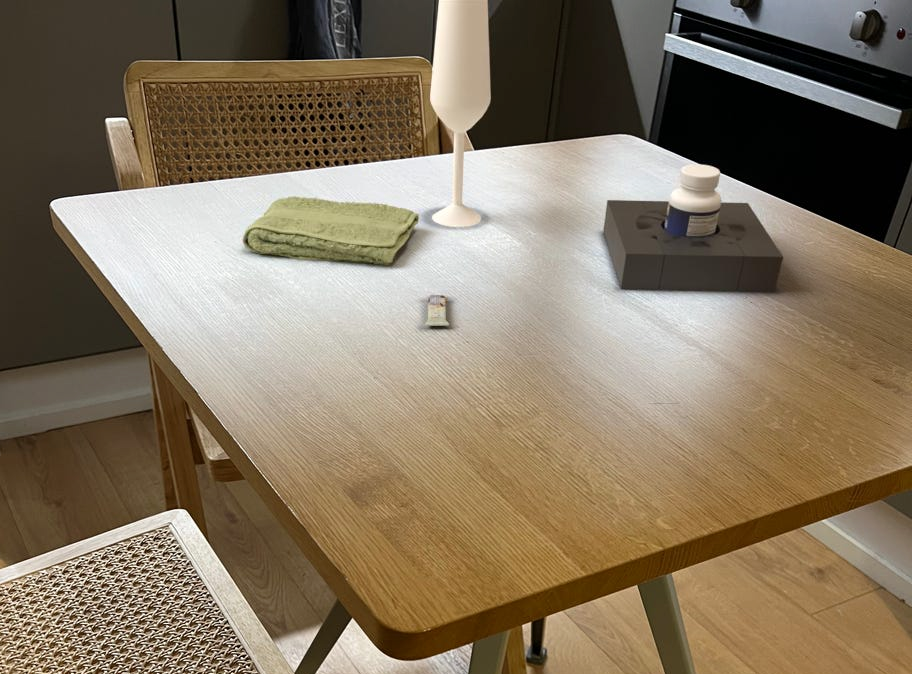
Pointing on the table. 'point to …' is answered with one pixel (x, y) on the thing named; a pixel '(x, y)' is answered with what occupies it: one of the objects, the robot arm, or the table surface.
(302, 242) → the washcloth
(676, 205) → the pill bottle
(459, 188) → the champagne flute
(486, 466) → the table surface
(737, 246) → the block
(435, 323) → the granola bar
